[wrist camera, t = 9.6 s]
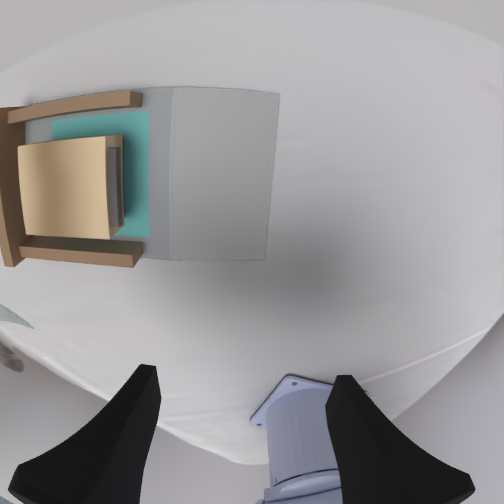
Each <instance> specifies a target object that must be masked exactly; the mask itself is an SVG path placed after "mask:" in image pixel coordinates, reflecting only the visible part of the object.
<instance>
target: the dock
mask: <svg viewBox="0 0 504 504" xmlns="http://www.w3.org/2000/svg"><path fill="white" fill-rule="evenodd" d="M279 102H280V94H279V93H271V92H262V91H252V90H240V89H225V88H201V87H166V88H146V89H132V90H121V91H111V92H103V93H95V94H88V95H81V96H75V97H69V98H64V99H58V100H53V101H48V102H44V103H39V104H35V105H30V106H26V107H7V108H0V247H1V252H2V256H3V260H4V264H5V266H8V267H15V266H16V265H17V264H19V263H20V262H21V261H22V260H24V259H25V258H35V259H45V260H54V261H64V262H75V263H85V264H96V265H107V266H118V267H130V268H133V267H134V266H135V264H136V263H137V262H138V260H139V259H140V258H153V259H167V260H264V257H265V248H266V238H267V228H268V218H269V208H270V198H271V188H272V178H273V167H274V157H275V146H276V135H277V124H278V113H279ZM133 112H150V120H149V146H148V208H149V235H150V238H145V237H127V236H113V237H112V238H110V239H97V238H79V237H62V236H44V235H26V230H25V224H24V217H23V210H22V201H21V192H20V181H19V167H18V146H22V145H27V144H32V143H37V142H43V141H50V140H51V129H52V121H58V120H64V119H71V118H79V117H87V116H96V115H106V114H118V113H133Z"/></svg>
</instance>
